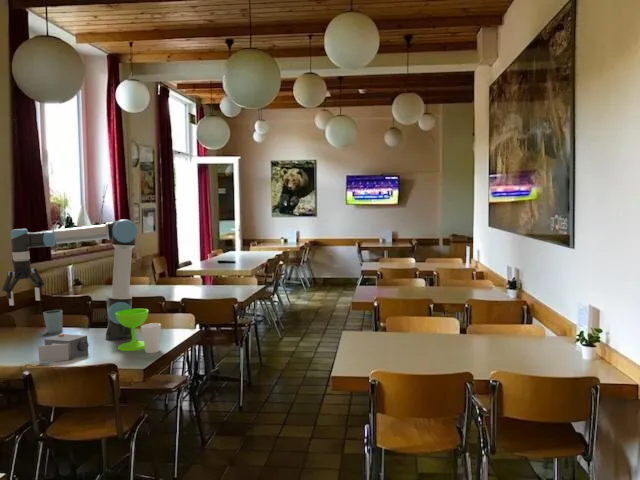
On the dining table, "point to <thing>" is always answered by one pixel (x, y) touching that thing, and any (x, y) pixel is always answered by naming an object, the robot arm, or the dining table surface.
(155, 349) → the foam cup
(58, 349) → the side door
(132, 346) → the wineglass
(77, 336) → the camera body
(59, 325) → the drinking glass
